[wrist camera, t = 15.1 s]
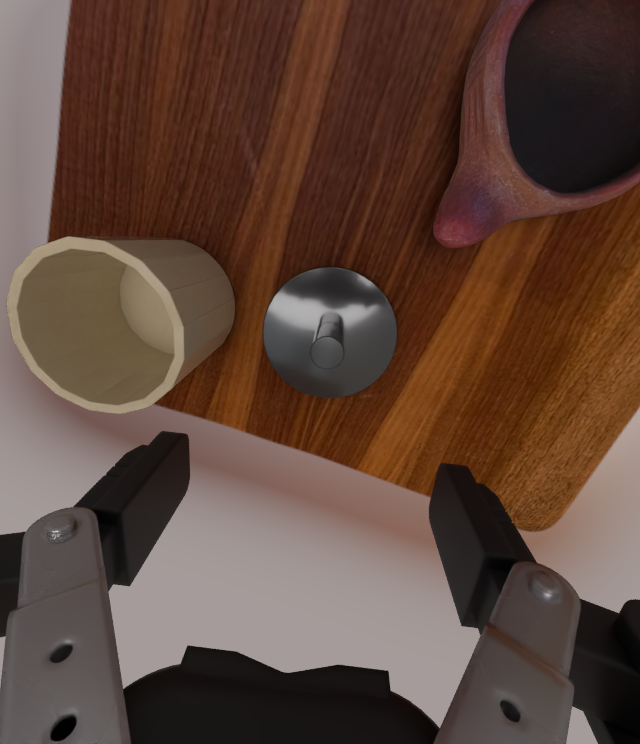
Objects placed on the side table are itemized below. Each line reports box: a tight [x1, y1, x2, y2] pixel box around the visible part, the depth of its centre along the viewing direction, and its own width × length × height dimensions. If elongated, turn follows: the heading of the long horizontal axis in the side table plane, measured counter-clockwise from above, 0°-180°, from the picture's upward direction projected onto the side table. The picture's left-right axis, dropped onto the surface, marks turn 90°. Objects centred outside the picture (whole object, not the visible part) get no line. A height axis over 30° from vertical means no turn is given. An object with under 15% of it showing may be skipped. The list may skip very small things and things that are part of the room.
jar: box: [6, 236, 235, 414], centre depth 25 cm, size 10×10×10 cm
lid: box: [263, 267, 397, 398], centre depth 28 cm, size 11×11×6 cm
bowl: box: [433, 0, 640, 248], centre depth 21 cm, size 16×13×8 cm
